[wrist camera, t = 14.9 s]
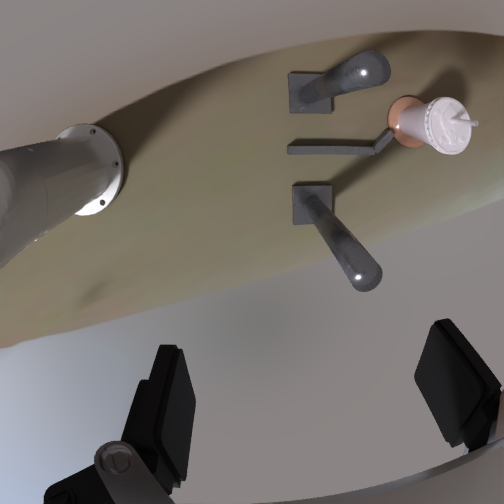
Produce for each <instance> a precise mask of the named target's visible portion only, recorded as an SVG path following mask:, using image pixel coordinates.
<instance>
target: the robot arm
mask: <svg viewBox="0 0 504 504" xmlns="http://www.w3.org/2000/svg"><path fill="white" fill-rule="evenodd" d="M95 130H96V133H95ZM117 162H118V165H117V164H116V163H117ZM123 174H124V164H123V158H122V154H121V150H120V148H119V146H118V144H117V142H116V141H115V139H114V138H113V137H112V136H111V135H110V134H109V133H108V132H107V131H106V130H104V129H103V128H101V127H99V126H96V125H93V124H77V125H73V126H71V127H69V128H67V129H65V130H64V131H63V132H61V133H60V134H59V135H58V136H57V137H56V138H55V139H54V140H51V141H45V142H40V143H35V144H30V145H25V146H21V147H16V148H12V149H7V150H3V151H0V270H1V269H2V268H3V267H4V266H5V265H6V264H7V263H8V262H9V261H10V260H11V259H12V258H13V257H14V256H16V255H17V254H18V253H19V252H21V251H22V250H23V249H25V248H26V247H27V246H29V245H30V244H31V243H33V242H34V241H35V240H37V239H38V238H40V237H41V236H43V235H44V234H46V233H47V232H49V231H50V230H51V229H53V228H54V227H56V226H57V225H59V224H60V223H62V222H63V221H65V220H66V219H68V218H69V217H71V216H72V215H74V214H76V215H80V216H88V215H92V214H96V213H98V212H100V211H102V210H103V209H105V208H106V207H107V206H108V205H109V204H110V203H111V202H113V200H114V199H115V197H116V196H117V194H118V192H119V190H120V188H121V185H122V181H123ZM104 201H105V202H104ZM414 377H415V382H416V384H417V386H418V387H419V389H420V391H421V393H422V395H423V397H424V399H425V401H426V403H427V404H428V407H429V408H430V411H431V412H432V414H433V416H434V418H435V420H436V422H437V424H438V426H439V429H440V431H441V433H442V434H443V437H444V438H445V441H446V442H449V443H450V445H451V447H452V448H453V447H455V446H458V445H460V444H462V443H463V442H464V443H465V445H466V446H465V450H464V453H463V456H461V457H459V458H457V459H454V460H452V461H450V462H447V463H444V464H442V465H440V466H437V467H434V468H431V469H429V470H426V471H423V472H420V473H417V474H414V475H411V476H408V477H405V478H402V479H398V480H395V481H391V482H388V483H384V484H381V485H377V486H373V487H369V488H365V489H360V490H356V491H351V492H346V493H341V494H335V495H330V496H324V497H317V498H310V499H303V500H294V501H284V502H272V503H255V504H504V390H503V391H502V392H501V390H500V388H501V386H502V385H501V384H500V382H499V381H498V379H497V378H496V377H495V375H494V374H493V373H492V371H491V370H490V369H489V367H488V366H487V365H486V363H485V362H484V361H483V359H482V358H481V357H480V355H479V354H478V353H477V352H476V350H475V349H474V348H473V347H472V345H471V344H470V343H469V342H468V340H467V339H466V338H465V337H464V335H463V334H462V333H461V332H460V331H459V329H458V328H457V327H456V326H455V324H454V323H453V322H452V321H451V320H450V319H448V318H447V319H442V320H437V321H435V322H434V324H433V325H432V326H431V328H430V331H429V334H428V337H427V340H426V343H425V346H424V349H423V352H422V355H421V358H420V360H419V363H418V366H417V369H416V371H415V375H414ZM195 406H196V399H195V395H194V391H193V388H192V384H191V380H190V376H189V373H188V369H187V365H186V361H185V357H184V354H183V350H182V349H178V348H177V346H176V345H160V346H159V348H158V351H157V355H156V358H155V361H154V364H153V367H152V370H151V373H150V377H149V380H141V381H140V382H139V384H138V387H137V390H136V393H135V396H134V399H133V403H132V405H131V408H130V412H129V415H128V418H127V421H126V424H125V428H124V431H123V434H122V437H121V441H111V442H108V443H105V444H104V445H102V446H101V447H100V448H99V449H98V450H97V451H96V454H95V456H94V464H93V465H91V466H89V467H87V468H85V469H83V470H81V471H79V472H77V473H75V474H73V475H71V476H69V477H67V478H65V479H63V480H61V481H59V482H57V483H55V484H53V485H51V486H50V487H49V488H48V489H47V490H46V492H45V495H44V503H43V504H175V503H174V501H173V500H172V499H171V498H170V496H169V495H170V494H172V488H173V487H177V488H180V484H181V481H185V480H186V476H187V467H188V459H189V452H190V444H191V436H192V428H193V421H194V414H195Z"/></svg>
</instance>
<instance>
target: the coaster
mask: <svg viewBox="0 0 504 504" xmlns="http://www.w3.org/2000/svg"><path fill="white" fill-rule="evenodd" d="M423 104H424V103H423V102H421V101H420V100H418V99H417V98H414V97H402V98H399V99H397V100H396V101H395V102H394V103H393V104H392V105H391V107H390V109H389V112H388V126H389V130H391V132H392V133H393V134H394V135H395V137H394V138H395V140H396V141H397V142H399V143H400V144H402V145H404V146H407V147H419V146H421V145H423V144H424V143H425V142H423V141H421V140H418V139H416V138H413V137H411V136H409V135H406V134H404V133H403V132H402V131H401V129H400V127H399V124H398V117H399V115H400V113H401V112H402V111H403V110H405V109H408V108H411V107H415V106H419V105H423Z"/></svg>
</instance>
